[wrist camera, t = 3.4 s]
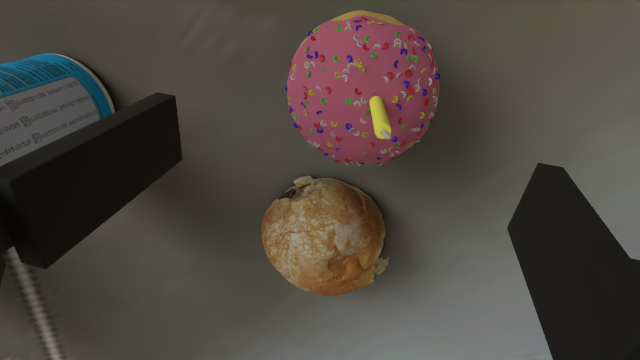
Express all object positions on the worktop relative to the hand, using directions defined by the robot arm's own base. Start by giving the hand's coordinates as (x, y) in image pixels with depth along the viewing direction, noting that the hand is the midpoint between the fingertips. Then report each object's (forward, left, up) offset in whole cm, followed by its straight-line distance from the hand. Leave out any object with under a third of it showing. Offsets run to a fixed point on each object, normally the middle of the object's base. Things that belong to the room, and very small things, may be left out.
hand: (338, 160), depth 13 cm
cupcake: (0, 0, -13) cm, 13 cm away
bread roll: (-1, -13, -13) cm, 18 cm away
